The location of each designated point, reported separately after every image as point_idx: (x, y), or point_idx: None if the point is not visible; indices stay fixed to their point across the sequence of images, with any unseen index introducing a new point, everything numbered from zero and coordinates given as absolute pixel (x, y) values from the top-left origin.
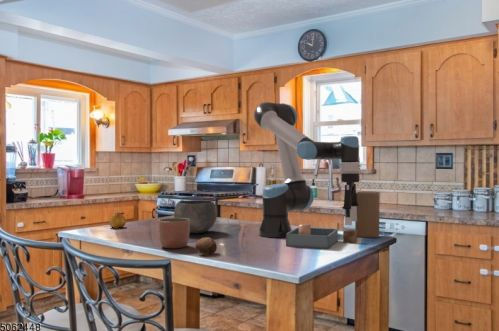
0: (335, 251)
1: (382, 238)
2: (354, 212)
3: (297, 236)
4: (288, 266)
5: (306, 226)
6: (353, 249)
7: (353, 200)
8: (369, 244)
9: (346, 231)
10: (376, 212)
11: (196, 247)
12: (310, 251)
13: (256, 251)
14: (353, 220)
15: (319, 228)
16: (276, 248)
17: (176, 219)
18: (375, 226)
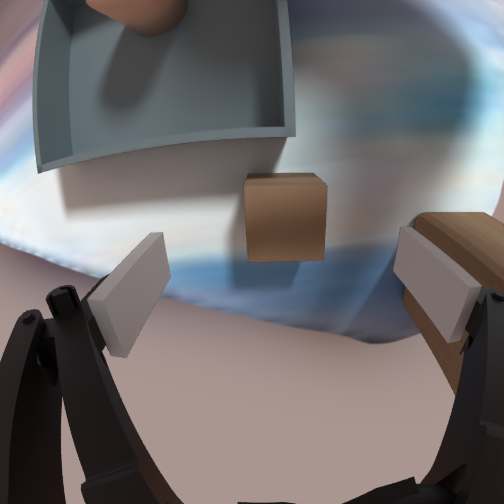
0: (56, 201)
1: (402, 314)
2: (426, 293)
3: (43, 37)
4: None
5: (91, 6)
6: (114, 251)
7: (466, 379)
8: (249, 293)
9: (245, 207)
10: (450, 380)
11: None
12: (27, 126)
13: (6, 16)
14: (399, 252)
15: (278, 17)
16: (39, 16)
17: None
18: (421, 326)
